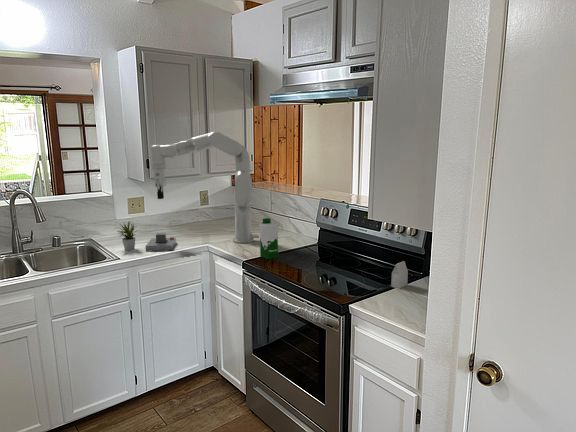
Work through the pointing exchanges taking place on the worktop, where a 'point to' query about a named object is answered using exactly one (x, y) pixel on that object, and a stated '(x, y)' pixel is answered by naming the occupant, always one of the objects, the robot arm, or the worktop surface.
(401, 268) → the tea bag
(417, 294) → the worktop surface
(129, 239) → the house plant
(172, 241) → the socket plate
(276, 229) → the milk carton
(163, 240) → the plug
